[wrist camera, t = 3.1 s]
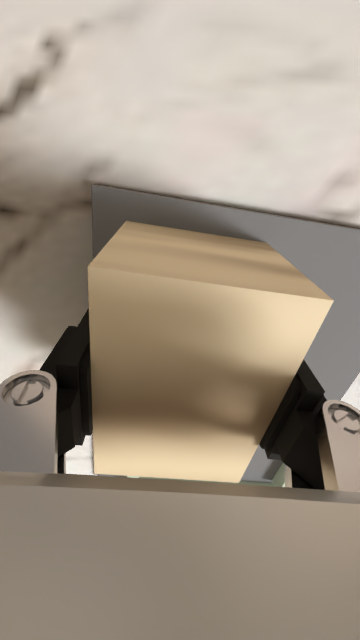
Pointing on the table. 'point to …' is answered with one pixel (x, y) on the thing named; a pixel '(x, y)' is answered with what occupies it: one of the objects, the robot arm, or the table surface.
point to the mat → (289, 241)
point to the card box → (192, 349)
